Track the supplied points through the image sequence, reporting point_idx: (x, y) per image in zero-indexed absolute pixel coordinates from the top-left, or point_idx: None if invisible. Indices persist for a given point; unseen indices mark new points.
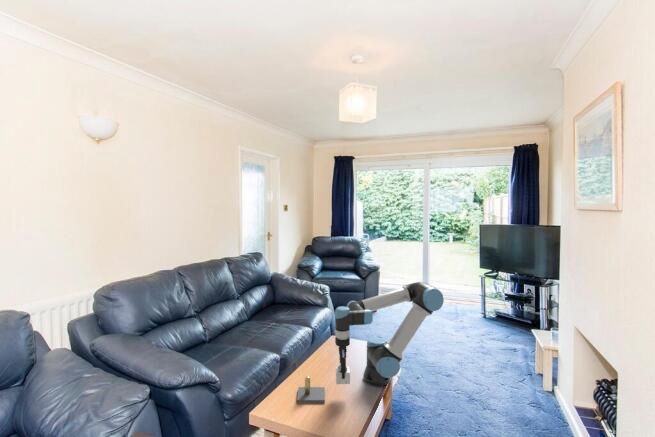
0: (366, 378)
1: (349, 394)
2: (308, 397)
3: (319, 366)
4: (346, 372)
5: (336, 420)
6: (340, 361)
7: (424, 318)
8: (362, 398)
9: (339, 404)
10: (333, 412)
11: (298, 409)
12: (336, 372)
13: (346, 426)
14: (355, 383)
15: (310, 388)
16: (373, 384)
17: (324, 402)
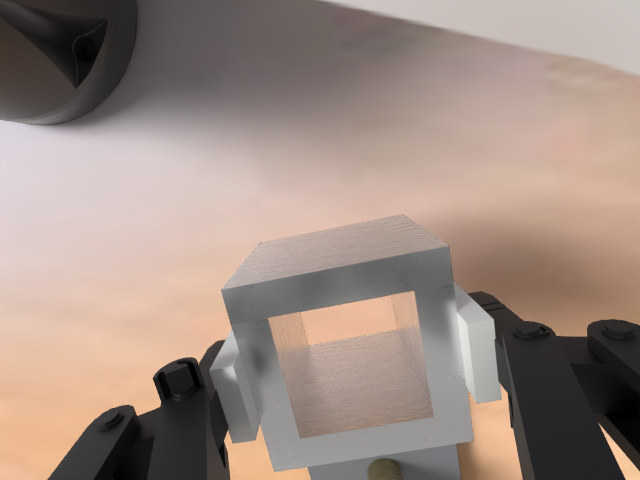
0: (84, 82)
1: (303, 207)
2: (429, 458)
3: (9, 454)
4: (452, 301)
5: (609, 252)
6: (229, 475)
7: None
8: (335, 103)
9: None
10: (527, 283)
11: (514, 472)
12: (468, 440)
13: None
14: (145, 180)
15: (324, 466)
16: (130, 19)
17: None
